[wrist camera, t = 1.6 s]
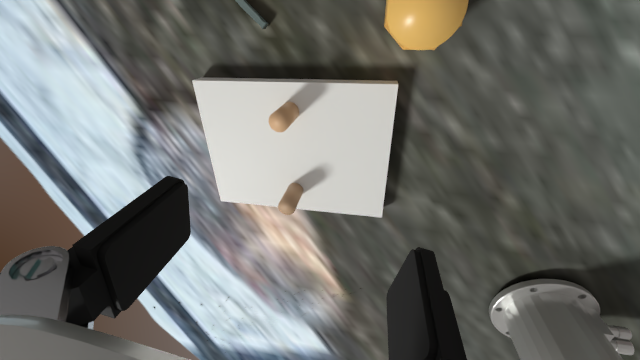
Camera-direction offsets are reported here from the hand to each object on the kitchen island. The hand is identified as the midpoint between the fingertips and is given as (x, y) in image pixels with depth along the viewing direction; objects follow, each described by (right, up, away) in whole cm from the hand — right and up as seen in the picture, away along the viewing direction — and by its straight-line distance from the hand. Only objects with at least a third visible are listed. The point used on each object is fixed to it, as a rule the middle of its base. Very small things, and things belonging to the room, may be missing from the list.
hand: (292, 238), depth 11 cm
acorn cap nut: (+10, +18, +13) cm, 24 cm away
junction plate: (-2, +7, +22) cm, 23 cm away
